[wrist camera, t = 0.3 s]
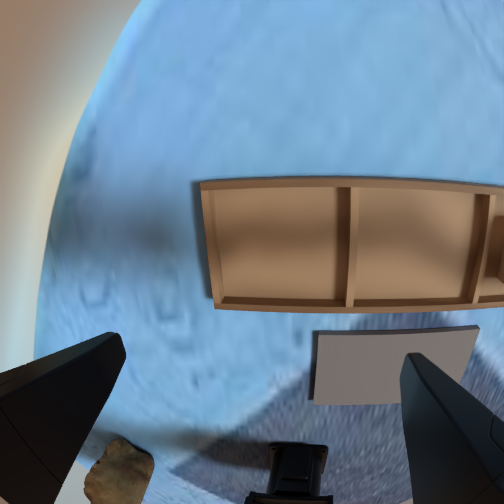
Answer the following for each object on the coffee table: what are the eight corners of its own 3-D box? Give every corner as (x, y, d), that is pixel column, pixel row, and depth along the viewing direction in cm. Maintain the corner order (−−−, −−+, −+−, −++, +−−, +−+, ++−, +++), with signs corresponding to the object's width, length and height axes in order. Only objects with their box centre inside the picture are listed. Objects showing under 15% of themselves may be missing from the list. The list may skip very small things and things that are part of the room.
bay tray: (541, 294, 17) (549, 301, 16) (220, 299, 23) (214, 309, 22) (560, 195, 14) (571, 199, 13) (207, 180, 20) (200, 183, 19)
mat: (451, 392, 22) (453, 396, 22) (313, 400, 25) (313, 404, 25) (477, 325, 20) (480, 328, 19) (318, 330, 23) (318, 335, 22)
